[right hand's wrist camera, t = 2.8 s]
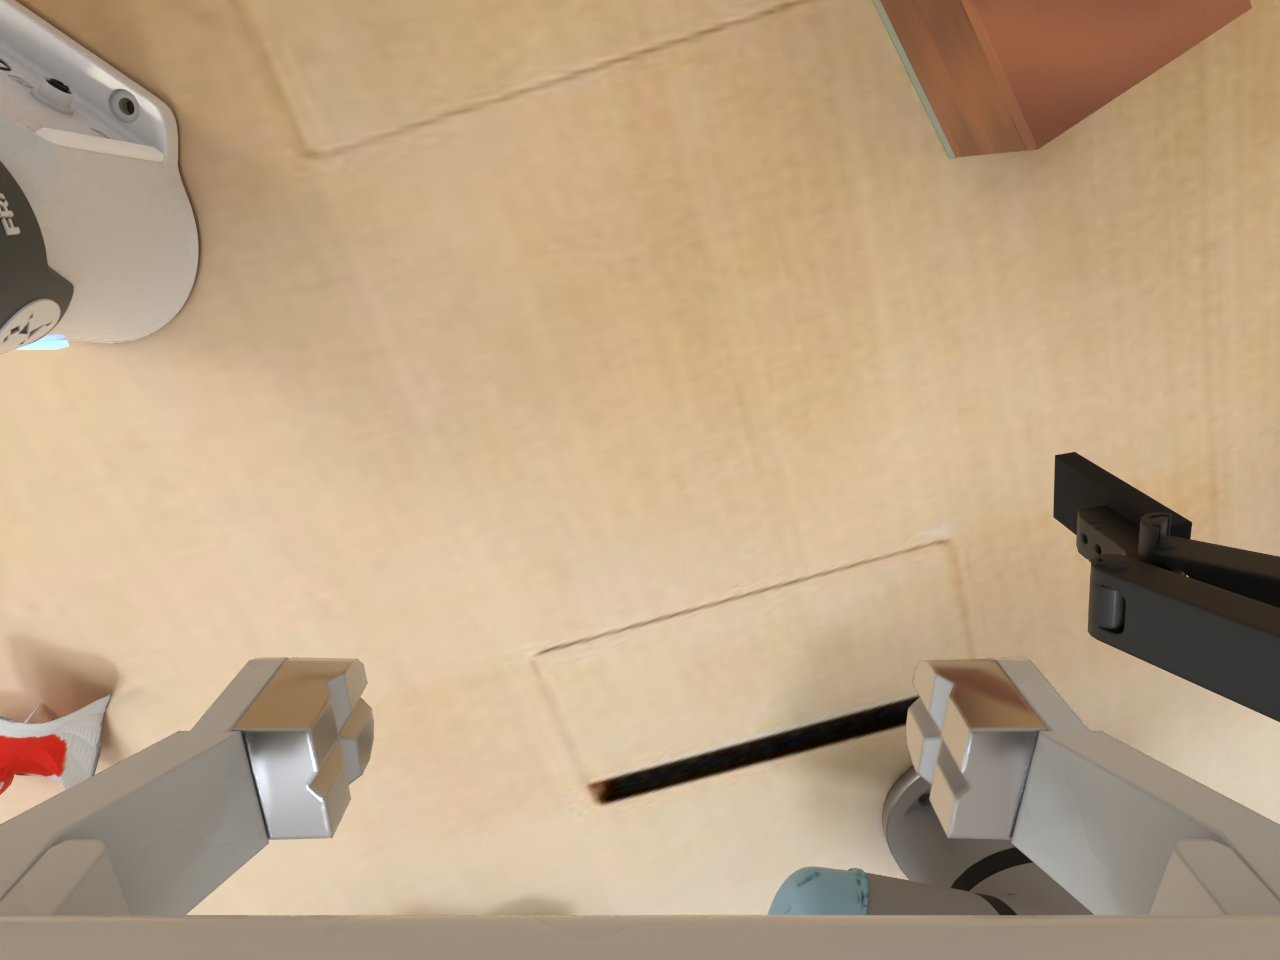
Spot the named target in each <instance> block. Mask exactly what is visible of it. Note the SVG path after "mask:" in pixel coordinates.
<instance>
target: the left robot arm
mask: <svg viewBox="0 0 1280 960" xmlns="http://www.w3.org/2000/svg"><path fill="white" fill-rule="evenodd" d="M1054 518H1055V519H1057V520H1058V521H1059V522H1060V523H1062V524H1063V525H1064V526H1065V527H1067V528H1068V529H1069V530H1071V531H1072V532H1073V533H1074V534H1076V535H1077V542H1076V545H1077V549H1078V552H1079V553H1080V554H1081V555H1083V556H1084V557H1085V558H1086V559H1089V561H1090V562H1091V575H1090V593H1089V613H1088V617H1089V618H1088V632H1089V634H1090V635H1091V636H1092V637H1094V638H1096V639H1097V640H1099V641H1101V642H1104V643H1106V644H1108V645H1110V646H1113V647H1115V648H1117V649H1119V650H1121V651H1124V652H1126V653H1128V654H1130V655H1132V656H1135V657H1137V658H1139V659H1141V660H1144V661H1146V662H1148V663H1150V664H1152V665H1155V666H1157V667H1159V668H1161V669H1163V670H1166V671H1168V672H1170V673H1172V674H1175V675H1177V676H1179V677H1181V678H1183V679H1186V680H1188V681H1190V682H1192V683H1194V684H1197V685H1199V686H1201V687H1203V688H1205V689H1208V690H1210V691H1212V692H1214V693H1217V694H1219V695H1221V696H1223V697H1225V698H1228V699H1230V700H1232V701H1234V702H1236V703H1239V704H1241V705H1243V706H1245V707H1248V708H1250V709H1252V710H1254V711H1256V712H1259V713H1261V714H1263V715H1265V716H1267V717H1270V718H1272V719H1274V720H1276V721H1279V722H1280V557H1278V556H1273V555H1268V554H1263V553H1257V552H1252V551H1247V550H1242V549H1237V548H1232V547H1226V546H1221V545H1216V544H1211V543H1206V542H1201V541H1196V540H1190V537H1191V527H1192V522H1191V521H1189V520H1187V519H1186V518H1184V517H1182V516H1181V515H1179V514H1177V513H1176V512H1174V511H1172V510H1171V509H1169V508H1167V507H1166V506H1164V505H1162V504H1161V503H1159V502H1157V501H1156V500H1154V499H1152V498H1151V497H1149V496H1147V495H1146V494H1144V493H1142V492H1141V491H1139V490H1137V489H1136V488H1134V487H1132V486H1131V485H1129V484H1127V483H1126V482H1124V481H1122V480H1121V479H1119V478H1117V477H1116V476H1114V475H1112V474H1111V473H1109V472H1107V471H1106V470H1104V469H1102V468H1101V467H1099V466H1097V465H1096V464H1094V463H1092V462H1091V461H1089V460H1087V459H1086V458H1084V457H1082V456H1081V455H1079V454H1077V453H1076V452H1072V453H1066V454H1060V455H1055V481H1054ZM1186 575H1188V576H1189V577H1190V578H1189V577H1186ZM931 786H932V785H931V784H930V783H928V782H927V781H925V780H924V779H923V778H921V777H920V776H919V775H917V772H916V770H915V768H914V766H912V767H911V768H910V769H909V770H908V771H907V772H906V773H905V774H904V775H903V776H902V777H901V778H900V779H899V780H898V781H897V783H896V784H895V785H894V787H893V788H892V790H891V792H890V793H889V795H888V797H887V800H886V802H885V806H884V809H883V816H882V825H883V831H884V835H885V838H886V841H887V843H888V846H889V848H890V851H891V853H892V855H893V857H894V859H895V860H896V862H897V864H898V866H899V867H900V869H901V870H902V872H903V873H904V874H905V875H906V876H907V878H908V879H909V880H910V881H909V880H903V879H897V878H892V877H886V876H881V875H875V874H870V873H865V872H864V871H863V870H862V869H858V868H852V869H849V870H848V871H846V870H838V869H830V868H821V867H806V868H802V869H799V870H797V871H796V872H794V873H793V874H791V875H790V876H789V877H788V878H787V879H786V880H785V882H784V883H783V884H782V886H781V887H780V889H779V890H778V892H777V894H776V896H775V898H774V900H773V902H772V905H771V907H770V909H769V912H768V915H1094V914H1093V913H1092V912H1091V911H1090V910H1088V909H1087V908H1086V907H1085V906H1084V905H1083V904H1081V903H1080V902H1079V901H1078V900H1077V899H1076V898H1074V897H1073V896H1072V895H1071V894H1070V893H1069V892H1068V891H1066V890H1065V889H1064V888H1063V887H1062V886H1061V885H1059V884H1058V883H1057V882H1056V881H1055V880H1054V879H1052V878H1051V877H1050V876H1049V875H1048V874H1047V873H1046V872H1044V871H1043V870H1042V869H1041V868H1040V867H1039V866H1037V865H1036V864H1035V863H1034V862H1033V861H1032V860H1030V859H1029V858H1028V857H1027V856H1026V855H1025V854H1024V853H1022V852H1021V851H1020V850H1019V849H1018V848H1017V847H1015V846H1014V845H1013V844H1012V843H1011V841H1012V840H1002V839H967V838H948V837H947V835H946V833H945V831H944V829H943V827H942V825H941V823H940V821H939V819H938V817H937V815H936V812H935V810H934V808H933V806H932V804H931V802H930V800H929V797H930V792H931Z"/></svg>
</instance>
